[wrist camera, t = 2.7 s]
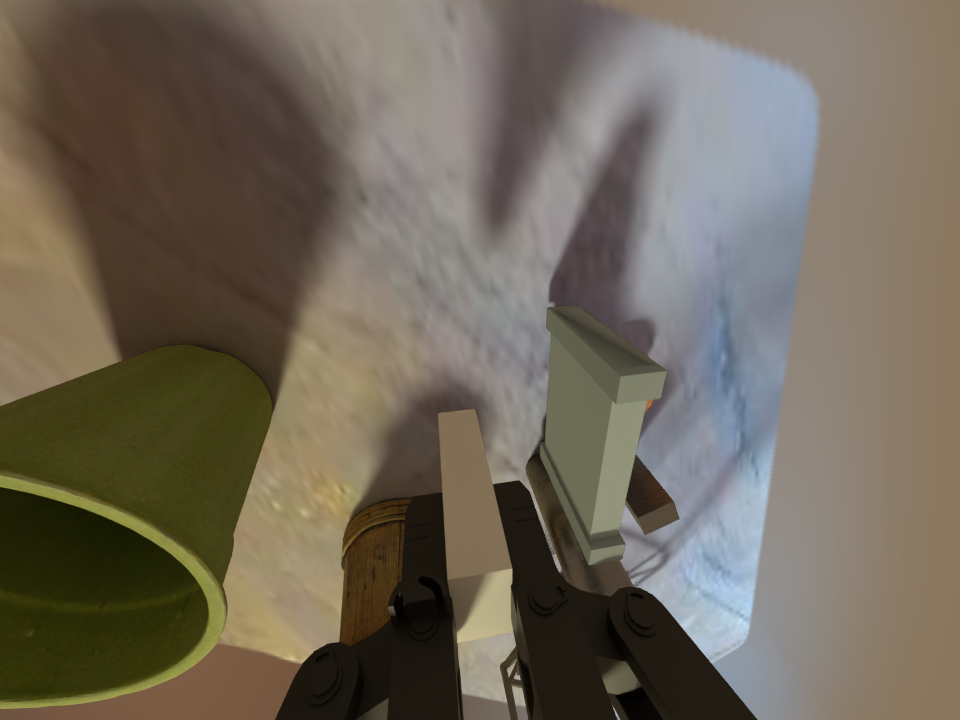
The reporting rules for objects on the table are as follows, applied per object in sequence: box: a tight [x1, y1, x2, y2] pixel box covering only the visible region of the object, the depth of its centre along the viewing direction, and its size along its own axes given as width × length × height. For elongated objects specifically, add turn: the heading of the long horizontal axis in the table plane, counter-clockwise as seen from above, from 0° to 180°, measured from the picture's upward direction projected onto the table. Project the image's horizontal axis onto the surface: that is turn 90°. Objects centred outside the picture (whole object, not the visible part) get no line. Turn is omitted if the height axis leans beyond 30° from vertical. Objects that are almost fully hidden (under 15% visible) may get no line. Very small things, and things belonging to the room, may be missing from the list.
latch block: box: [625, 454, 679, 535], centre depth 24 cm, size 2×2×6 cm
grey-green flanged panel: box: [540, 305, 667, 565], centre depth 18 cm, size 11×2×8 cm, turn 2°
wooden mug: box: [339, 499, 411, 646], centre depth 20 cm, size 9×14×18 cm, turn 143°
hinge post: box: [526, 453, 634, 596], centre depth 22 cm, size 3×3×10 cm
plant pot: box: [0, 344, 272, 709], centre depth 15 cm, size 12×12×11 cm
